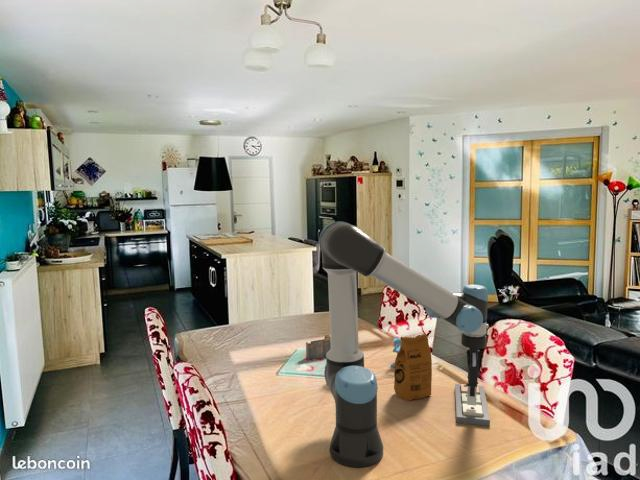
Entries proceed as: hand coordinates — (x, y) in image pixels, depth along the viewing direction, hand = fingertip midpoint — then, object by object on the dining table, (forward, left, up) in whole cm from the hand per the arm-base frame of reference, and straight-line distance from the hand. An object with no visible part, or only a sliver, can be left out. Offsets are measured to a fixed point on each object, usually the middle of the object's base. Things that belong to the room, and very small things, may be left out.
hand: (471, 404), depth 156 cm
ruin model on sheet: (+43, +62, -5) cm, 76 cm away
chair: (+41, +26, -5) cm, 49 cm away
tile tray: (+8, 0, -4) cm, 9 cm away
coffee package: (+13, +20, -5) cm, 24 cm away
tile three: (+16, 0, -4) cm, 17 cm away
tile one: (0, 0, -4) cm, 4 cm away
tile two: (+8, 0, -4) cm, 9 cm away
